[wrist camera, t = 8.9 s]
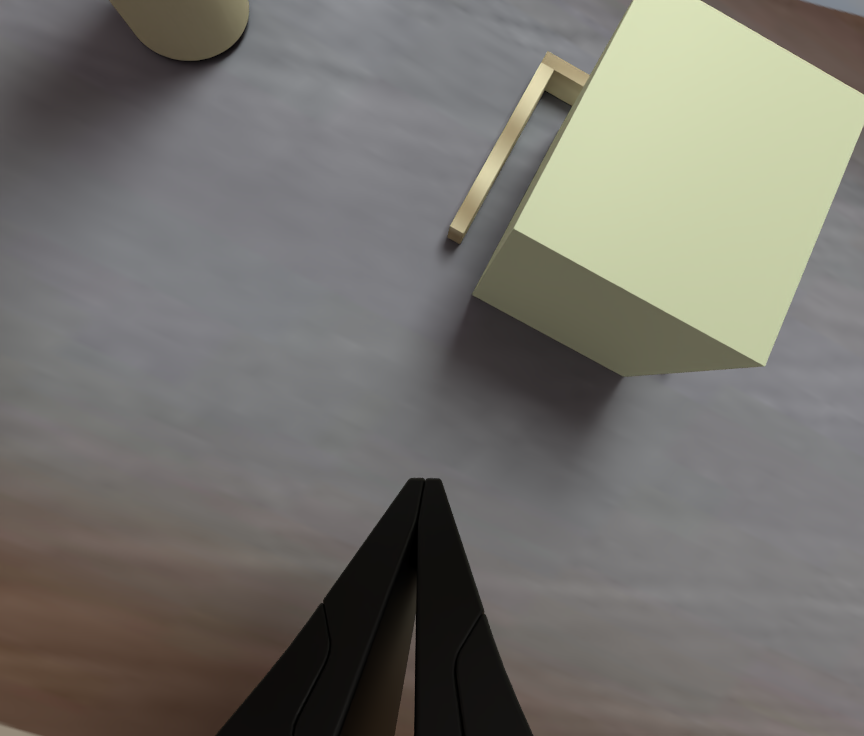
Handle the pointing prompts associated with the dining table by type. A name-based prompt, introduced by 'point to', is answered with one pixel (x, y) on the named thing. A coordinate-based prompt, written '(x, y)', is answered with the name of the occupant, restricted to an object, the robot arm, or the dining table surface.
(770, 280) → the sage box
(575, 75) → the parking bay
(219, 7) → the travel mug
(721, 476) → the dining table surface
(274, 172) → the dining table surface
